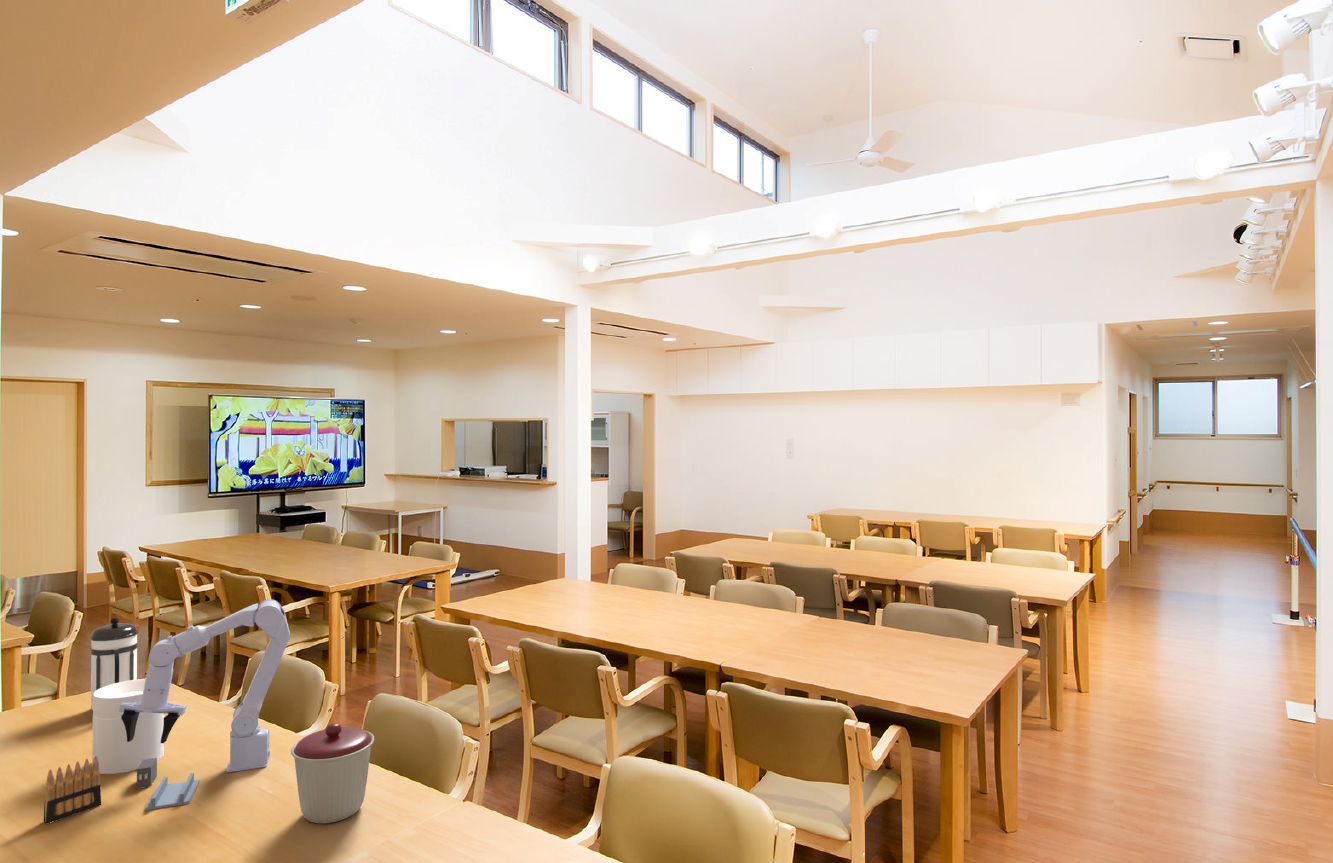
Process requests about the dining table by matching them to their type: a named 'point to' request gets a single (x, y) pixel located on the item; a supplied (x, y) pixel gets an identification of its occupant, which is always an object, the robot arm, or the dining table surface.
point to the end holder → (173, 793)
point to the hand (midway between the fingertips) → (146, 741)
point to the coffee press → (113, 654)
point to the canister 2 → (332, 772)
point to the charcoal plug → (146, 772)
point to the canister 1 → (123, 729)
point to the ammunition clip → (72, 792)
